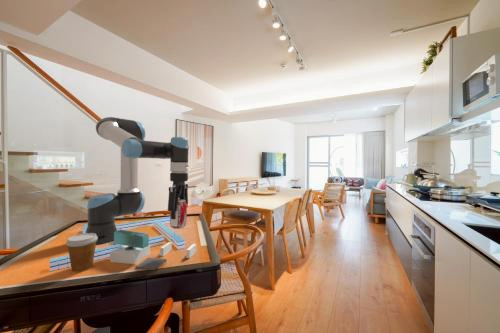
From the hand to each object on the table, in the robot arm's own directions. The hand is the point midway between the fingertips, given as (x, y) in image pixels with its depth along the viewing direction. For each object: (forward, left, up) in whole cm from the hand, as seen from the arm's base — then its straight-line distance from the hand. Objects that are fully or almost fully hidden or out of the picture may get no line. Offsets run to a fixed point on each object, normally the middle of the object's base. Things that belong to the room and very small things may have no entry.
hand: (178, 223), depth 95 cm
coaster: (-6, -11, -14) cm, 18 cm away
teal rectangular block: (-18, -7, -9) cm, 21 cm away
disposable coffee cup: (-30, -18, -14) cm, 37 cm away
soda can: (0, 0, -2) cm, 2 cm away
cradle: (0, 0, -14) cm, 14 cm away
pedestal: (-18, -7, -14) cm, 23 cm away
